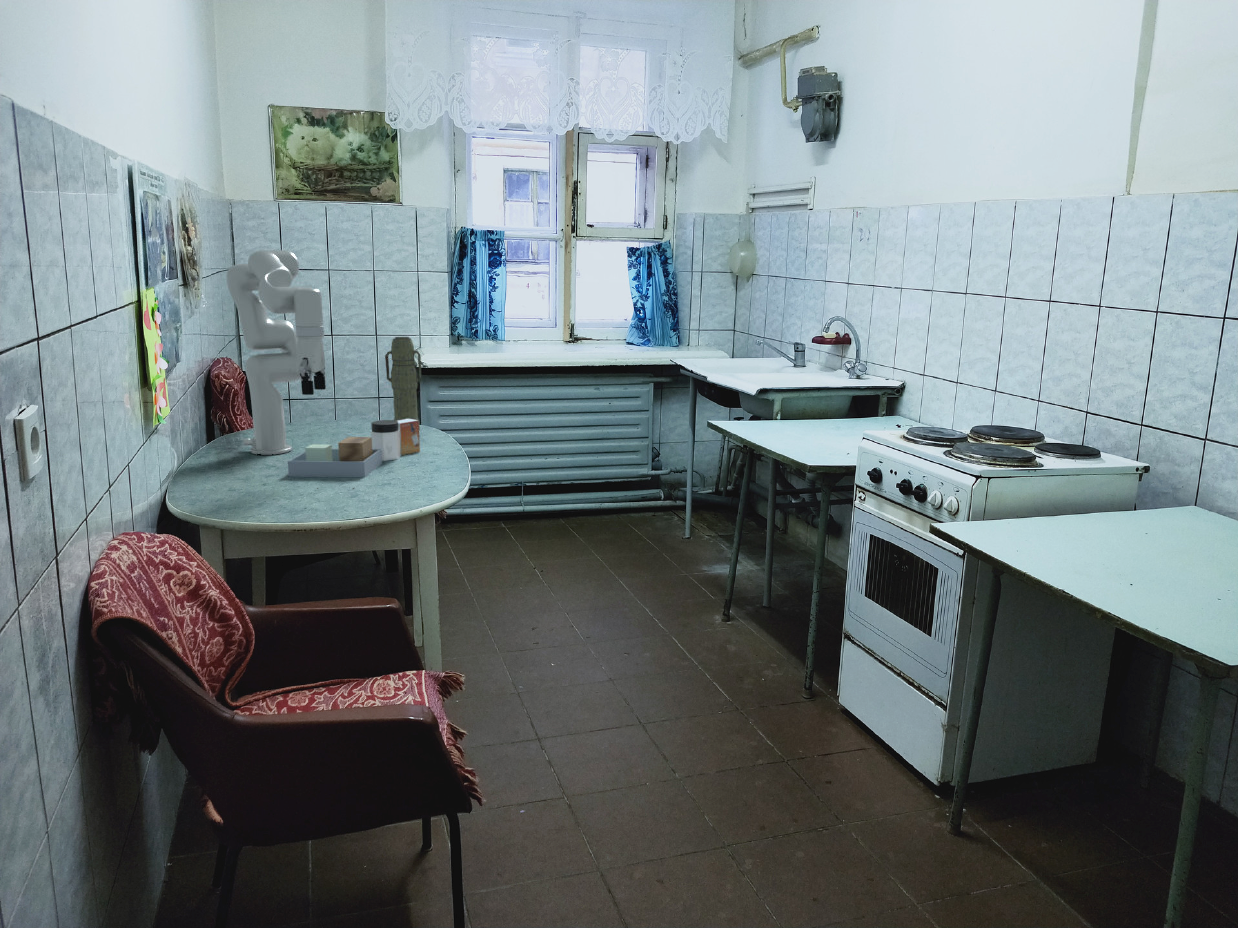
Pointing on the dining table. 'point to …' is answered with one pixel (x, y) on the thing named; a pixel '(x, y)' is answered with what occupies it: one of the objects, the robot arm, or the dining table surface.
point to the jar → (386, 438)
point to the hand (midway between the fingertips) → (314, 392)
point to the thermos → (404, 378)
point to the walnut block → (355, 448)
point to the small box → (409, 436)
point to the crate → (334, 466)
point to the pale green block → (318, 452)
